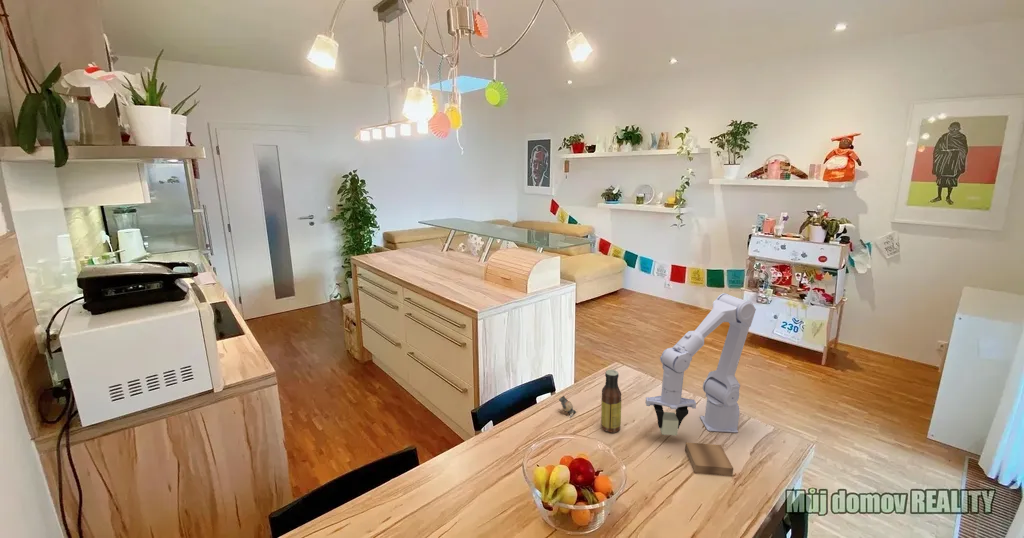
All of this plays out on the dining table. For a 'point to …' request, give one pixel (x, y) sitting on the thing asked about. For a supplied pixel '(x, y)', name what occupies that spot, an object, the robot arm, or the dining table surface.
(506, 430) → the dining table surface
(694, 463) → the walnut block
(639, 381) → the dining table surface
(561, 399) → the bird figurine
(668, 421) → the sage cube
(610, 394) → the sauce bottle
